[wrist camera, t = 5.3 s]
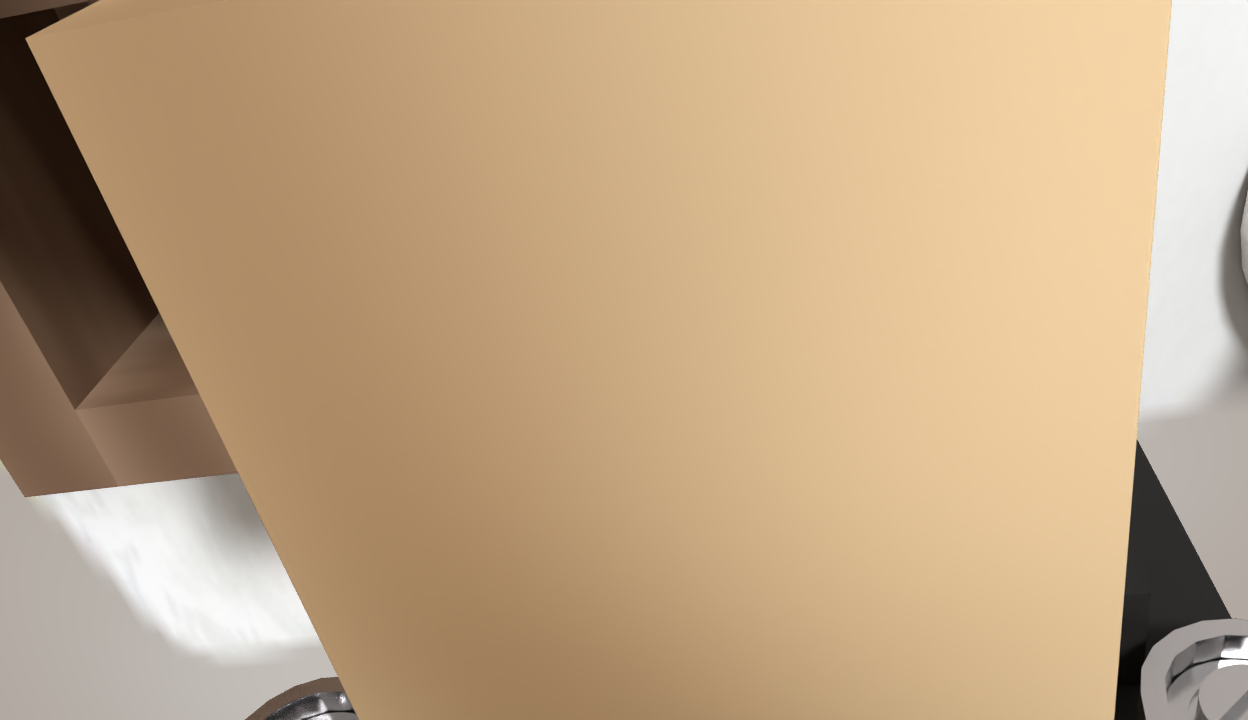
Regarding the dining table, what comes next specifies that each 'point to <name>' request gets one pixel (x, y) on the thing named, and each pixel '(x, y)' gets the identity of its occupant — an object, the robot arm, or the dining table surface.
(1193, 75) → the dining table surface
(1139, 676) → the robot arm
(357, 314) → the tan grey block
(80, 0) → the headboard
